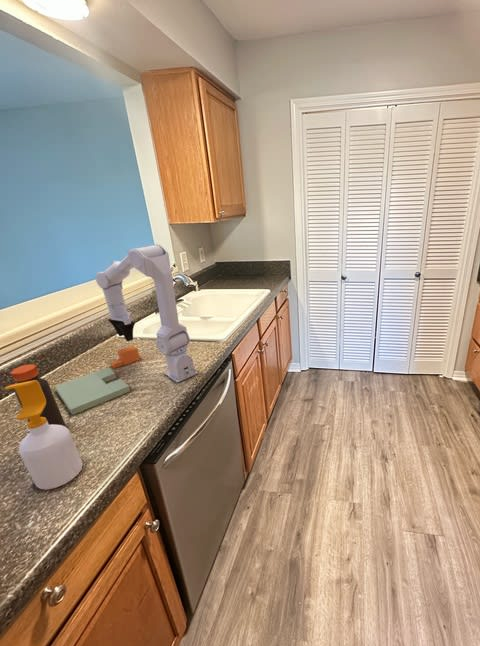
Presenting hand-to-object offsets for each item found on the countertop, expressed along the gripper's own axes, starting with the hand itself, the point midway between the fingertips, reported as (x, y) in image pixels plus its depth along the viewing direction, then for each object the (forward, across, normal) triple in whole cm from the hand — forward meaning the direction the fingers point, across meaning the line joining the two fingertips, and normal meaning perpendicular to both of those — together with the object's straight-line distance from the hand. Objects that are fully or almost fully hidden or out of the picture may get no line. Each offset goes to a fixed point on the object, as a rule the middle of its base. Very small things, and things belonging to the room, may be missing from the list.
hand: (125, 337), depth 123 cm
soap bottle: (+10, -47, +34) cm, 59 cm away
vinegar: (+10, -28, +32) cm, 44 cm away
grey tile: (+10, -13, +18) cm, 24 cm away
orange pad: (+9, 0, +3) cm, 10 cm away
